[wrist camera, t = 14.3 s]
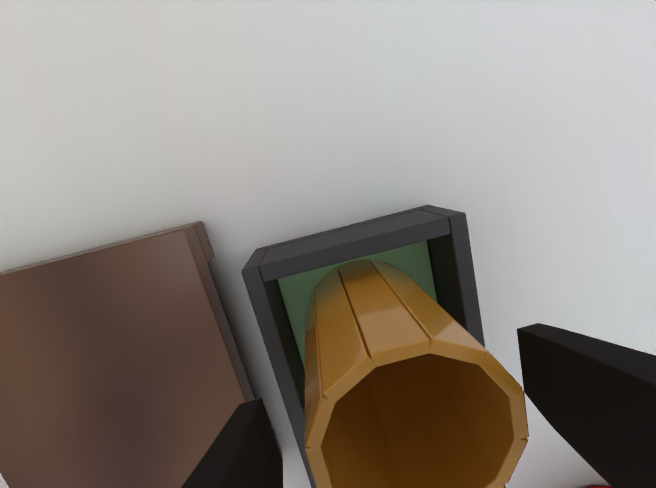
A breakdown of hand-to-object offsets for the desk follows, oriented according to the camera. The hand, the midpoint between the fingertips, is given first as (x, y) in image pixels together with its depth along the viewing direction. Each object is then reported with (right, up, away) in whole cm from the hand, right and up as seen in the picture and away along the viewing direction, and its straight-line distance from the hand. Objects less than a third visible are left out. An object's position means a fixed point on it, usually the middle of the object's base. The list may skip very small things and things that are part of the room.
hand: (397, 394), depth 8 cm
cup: (0, +1, +5) cm, 5 cm away
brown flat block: (-10, -2, +5) cm, 12 cm away
